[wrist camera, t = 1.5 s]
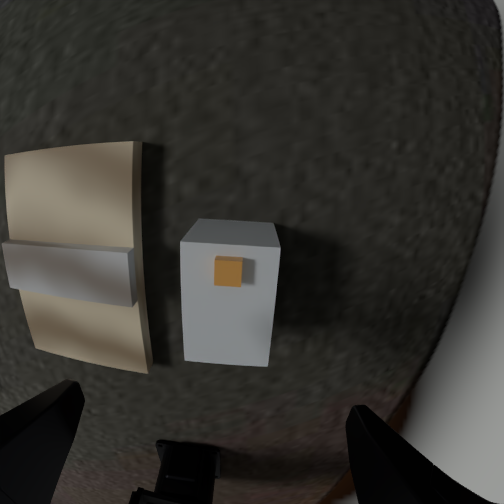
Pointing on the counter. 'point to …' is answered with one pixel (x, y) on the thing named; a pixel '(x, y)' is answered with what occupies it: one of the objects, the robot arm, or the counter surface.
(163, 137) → the counter surface
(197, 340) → the block
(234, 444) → the counter surface
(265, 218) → the counter surface
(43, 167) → the board
